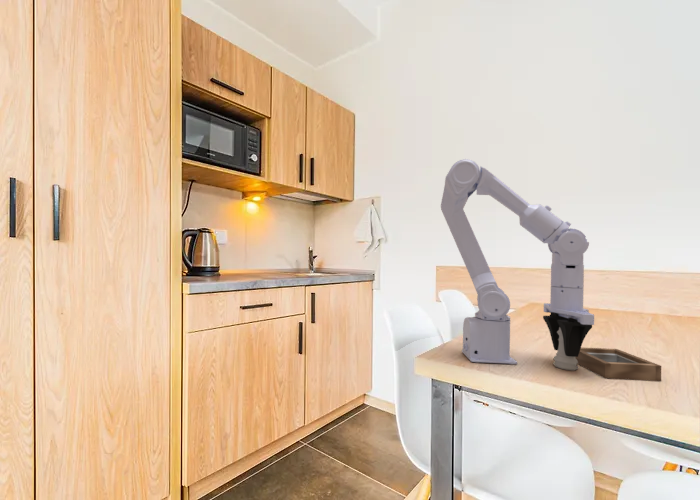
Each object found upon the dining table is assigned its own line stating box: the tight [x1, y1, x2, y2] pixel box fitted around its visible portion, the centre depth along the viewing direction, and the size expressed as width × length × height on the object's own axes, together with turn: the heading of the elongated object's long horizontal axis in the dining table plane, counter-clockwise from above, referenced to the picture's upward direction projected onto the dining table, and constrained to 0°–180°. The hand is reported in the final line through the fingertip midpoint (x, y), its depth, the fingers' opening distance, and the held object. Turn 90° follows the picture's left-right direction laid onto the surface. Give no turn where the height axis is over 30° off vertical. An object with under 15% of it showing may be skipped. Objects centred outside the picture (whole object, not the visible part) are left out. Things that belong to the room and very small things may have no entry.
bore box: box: [575, 346, 662, 382], centre depth 69 cm, size 10×12×3 cm
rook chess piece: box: [552, 327, 579, 371], centre depth 70 cm, size 4×4×8 cm
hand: (565, 353), depth 70 cm, fingers open, 4 cm apart
